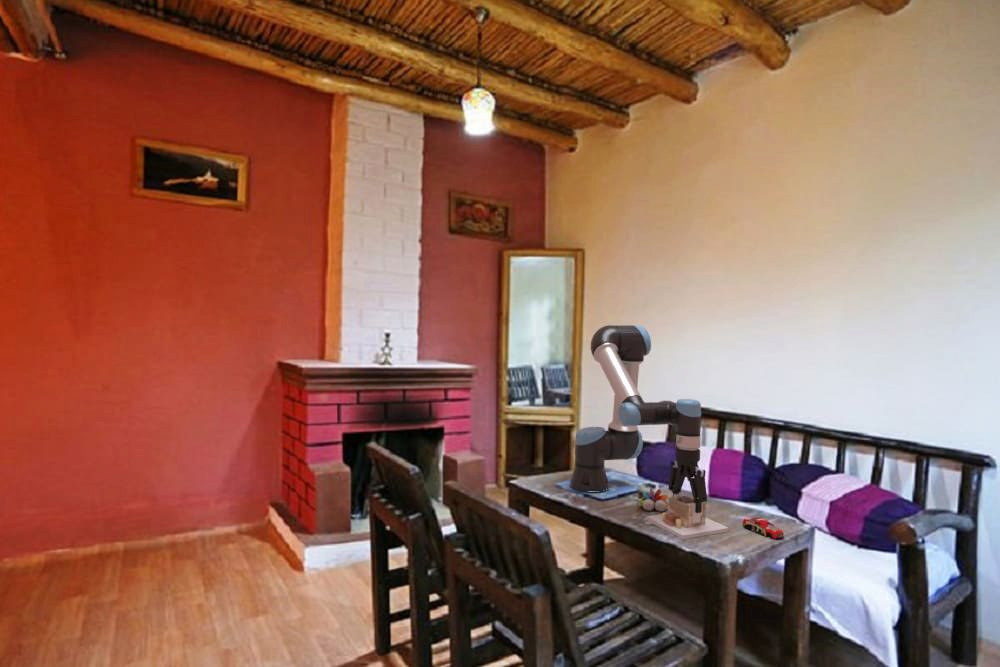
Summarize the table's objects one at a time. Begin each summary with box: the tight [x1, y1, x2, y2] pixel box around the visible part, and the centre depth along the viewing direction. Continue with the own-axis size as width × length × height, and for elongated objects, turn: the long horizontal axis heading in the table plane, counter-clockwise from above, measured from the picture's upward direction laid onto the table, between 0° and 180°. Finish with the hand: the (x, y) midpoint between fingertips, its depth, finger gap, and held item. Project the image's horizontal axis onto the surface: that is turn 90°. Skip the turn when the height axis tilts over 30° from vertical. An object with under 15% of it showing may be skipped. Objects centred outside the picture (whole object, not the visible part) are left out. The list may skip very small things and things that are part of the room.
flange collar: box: [665, 495, 707, 528], centre depth 182 cm, size 12×8×7 cm
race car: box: [742, 516, 784, 540], centre depth 178 cm, size 13×5×4 cm, turn 24°
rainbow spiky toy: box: [639, 487, 669, 513], centre depth 200 cm, size 8×10×7 cm
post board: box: [645, 495, 730, 540], centre depth 183 cm, size 18×18×9 cm
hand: (686, 517), depth 183 cm, fingers closed on flange collar, 8 cm apart
